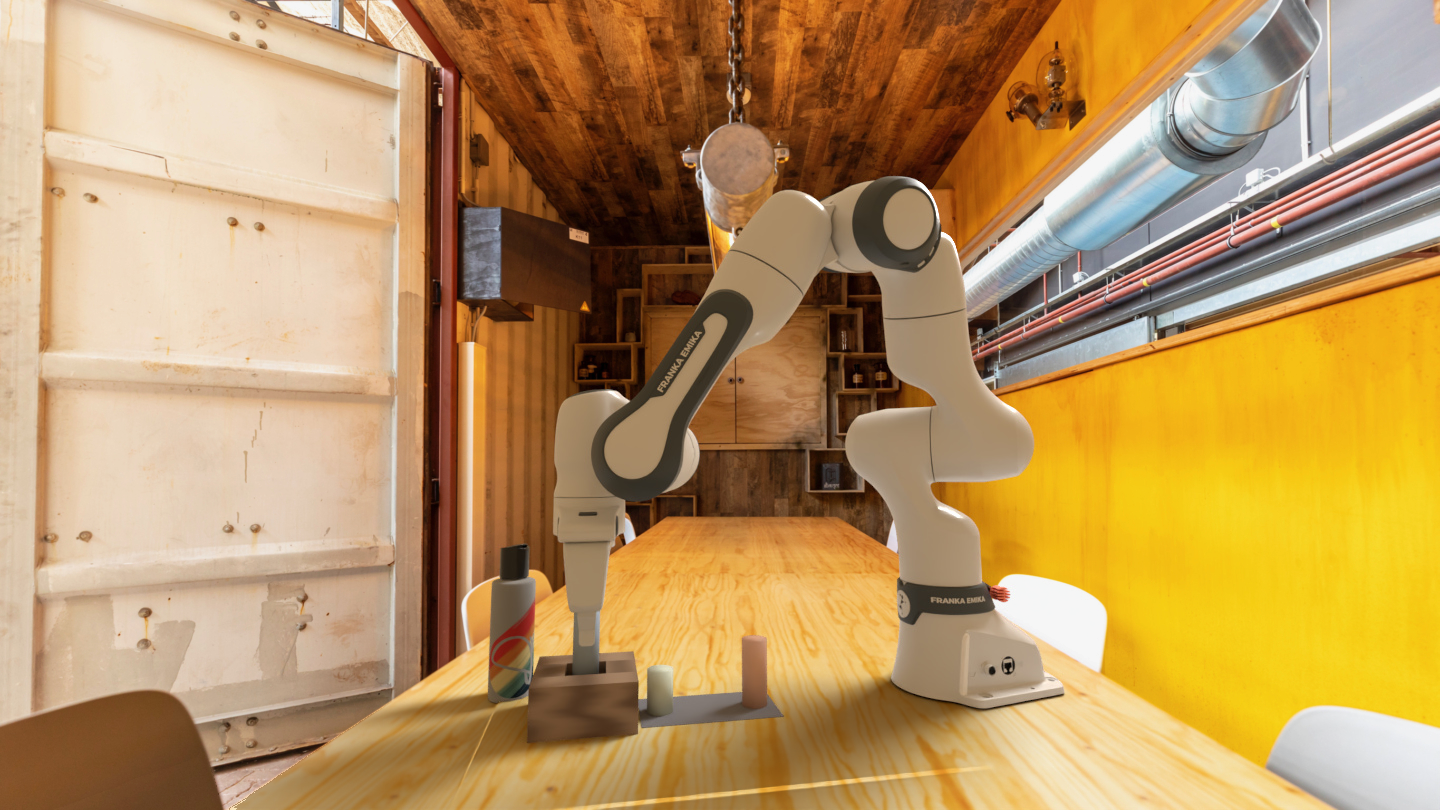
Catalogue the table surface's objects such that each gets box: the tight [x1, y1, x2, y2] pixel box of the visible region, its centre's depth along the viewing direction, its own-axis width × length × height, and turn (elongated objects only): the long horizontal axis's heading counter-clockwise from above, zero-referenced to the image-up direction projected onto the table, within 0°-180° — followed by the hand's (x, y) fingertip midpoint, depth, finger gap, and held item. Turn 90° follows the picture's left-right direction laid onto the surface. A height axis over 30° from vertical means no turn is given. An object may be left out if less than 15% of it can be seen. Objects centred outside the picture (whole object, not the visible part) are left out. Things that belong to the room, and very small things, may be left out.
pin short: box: [646, 664, 674, 716], centre depth 76 cm, size 3×3×5 cm
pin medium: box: [741, 634, 768, 709], centre depth 78 cm, size 3×3×8 cm
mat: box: [638, 691, 785, 729], centre depth 76 cm, size 17×9×1 cm, turn 101°
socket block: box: [526, 650, 640, 744], centre depth 74 cm, size 12×12×6 cm
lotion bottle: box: [487, 543, 537, 704], centre depth 83 cm, size 6×6×20 cm
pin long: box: [572, 610, 601, 676], centre depth 76 cm, size 3×3×14 cm
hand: (588, 633), depth 75 cm, fingers open, 8 cm apart
